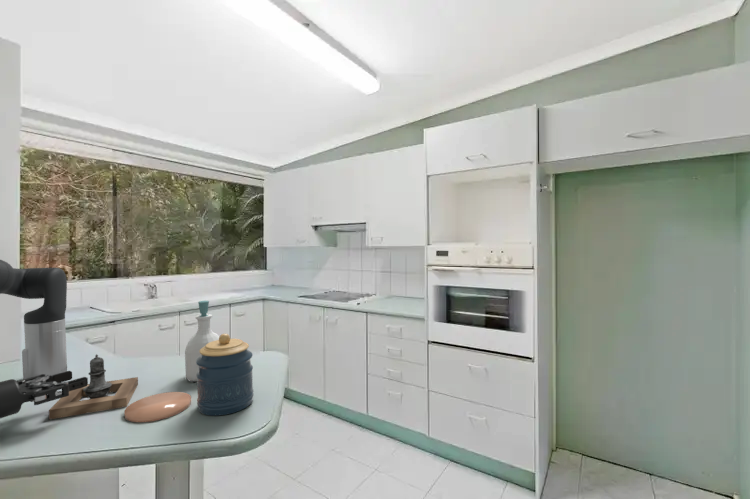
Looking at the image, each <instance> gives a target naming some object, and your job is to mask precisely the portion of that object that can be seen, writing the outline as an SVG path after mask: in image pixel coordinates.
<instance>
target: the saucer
mask: <svg viewBox="0 0 750 499" xmlns="http://www.w3.org/2000/svg"><path fill="white" fill-rule="evenodd" d="M190 406H192V396H191V395H190V394H189V393H186V392H182V391H168V392H161V393H156V394H152V395H148V396H146V397H142V398H140V399H137V400H136V401H134V402H132V403H131V404H130V403H129V405H127V407H126V408H125V410H124V419H125V420H127V421H129V422H132V423H150V422H156V421H160V420H165V419H168V418H171V417H174V416H177V415H178V414H180V413H182V412H184V411H186V410H187V409H188V408H189V407H190Z"/></svg>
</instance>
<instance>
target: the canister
mask: <svg viewBox="0 0 750 499" xmlns="http://www.w3.org/2000/svg"><path fill="white" fill-rule="evenodd" d="M219 336H220V337H219V340H216V341H212V342H210V343H208V344H206V346H204V347H203V348H201V349H200V351H199V352H200V354H201V356H200V357H199V358H198V359H197V360H196V364H197V365H198V366H199V369H198V372H197V374H196V377H197V381H196V383H197V384H196V385H197V389H196V390H197V398H196V401H197V402H196V405H197V407H198V412H199V413H201V414H202V415H206V416H212V417H213V416H215V417H216V416H225V415H230V414H234V413H237V412H240V411H242V410H244V409H246V408H247V407H249V406H250V405H251V404H252V402H253V399H254V389H253V388H254V386H253V383H254V382H253V368H254V367H253V365H252V362H251V361H252V360H251V359H252V358H253V354H254V353H253V352H252V351H250V350H249V347H250V345H249V344H248V343H247V342H246V341H243V340H242V339H239V338H231V336H230V334H228V333H221V335H219Z"/></svg>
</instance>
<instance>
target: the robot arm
mask: <svg viewBox="0 0 750 499" xmlns="http://www.w3.org/2000/svg"><path fill="white" fill-rule="evenodd" d="M67 291H68V280H67V275H66V273H65V270H63V269H62V268H60V267H30V268H14V267H13V266H12V265H11V264H10V263H8V262H7V261H5V260H2V259H0V295H1V294H2V295H8V296H13V297H16V298H21V299H27V300H37V299H43V305H42V306H40V307H38V308H36V309H33V310H30V311H28V312H26V313H25V314H24V315H23V328H24V331H23V332H24V349H22V350H21V356H22V357H21V358H22V359H21V360H22V379H21V380H16V379H15V378H10V379H8V380H2V381H0V419H4V418H6V417H9V416H14V415H15V414H16V415H17V414H18V413H19V412H20V410H21V409H22V405H23V404H25V403H29V402H30V403H33V406H39V405H42V404H45V403H48V402H49V403H50V402H53V401H56V400H59V399H60V398H63V397H66V396H69V391H72V390H76V389H79V388H82V387H85V386H87V385H88V384H89V380H88V377H86V376H82V377H79V378H75V379H73V372H72V371H71V370H68V363H67V362H68V361H67V360H68V359H67V358H68V357H67V334H66V333H67V332H66V310H67V293H68V292H67Z"/></svg>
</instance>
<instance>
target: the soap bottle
mask: <svg viewBox="0 0 750 499" xmlns="http://www.w3.org/2000/svg"><path fill="white" fill-rule="evenodd" d="M197 302H198V308H199V313H200V314H199V315H195V319H196V320H197V327H198V329H197V331H196V333H195V334H194V335H192V336H191V338H189V340H188V342H187V344H186V347H185V350H184V360H185V361H184V362H185V363H184V364H185V366H184V367H185V368H184V369H185V378H186V379H187V380H188V382H197V377H196V374H197V372H198V369H199V366H198V365H197V364H196V360H197V359H198V358H199V357H200V356H201V354H200V352H199V351H200V349H201V348H203V347H204V346H206V344H208V343H210V342H212V341H216V340H219V337H220V335H219V334H218V333H216V332H214V331H213V330H212V328H211V319H212V318H213V314H208V312H209V302H210V301H209V300H200V301H197Z"/></svg>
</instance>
